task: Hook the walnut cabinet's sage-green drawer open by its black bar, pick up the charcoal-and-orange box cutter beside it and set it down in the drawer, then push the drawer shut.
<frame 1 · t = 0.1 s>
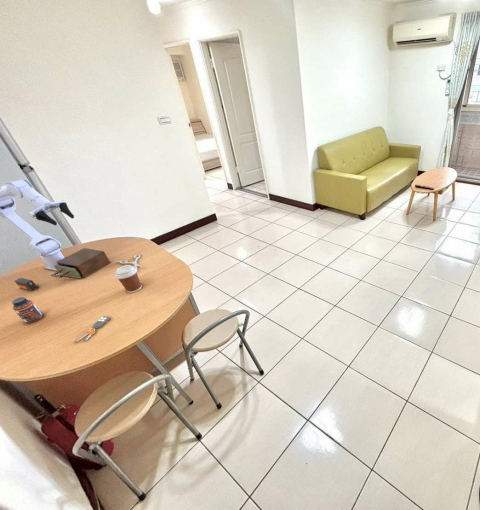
hand: (64, 220, 131), 32 cm above the table, tool tilted 50°, fingers open, 7 cm apart
drawer: (74, 267, 146), point 4 cm above the table, slide at 1.0 cm
key chain: (94, 330, 115), on the table
coffee cup: (134, 288, 138), on the table
cabinet: (88, 268, 153), on the table
scissors: (134, 264, 155), on the table
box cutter: (29, 288, 138), on the table
supplement bottle: (34, 319, 121), on the table
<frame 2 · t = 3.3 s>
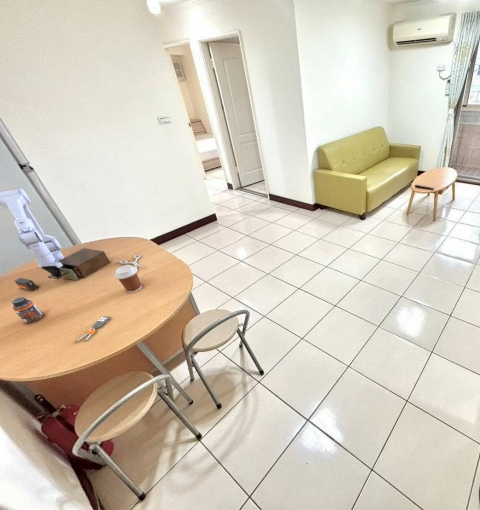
hand: (58, 276, 140), 4 cm above the table, tool pointing down, fingers closed, pressing on drawer
drawer: (72, 268, 145), point 4 cm above the table, slide at 2.3 cm, touching gripper
everything else where it was.
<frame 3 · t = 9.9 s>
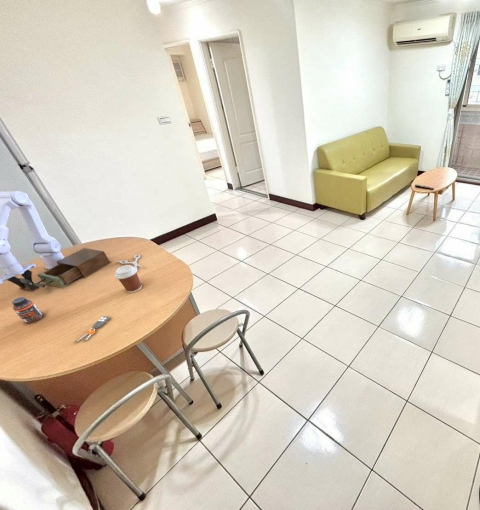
hand: (27, 286, 137), 1 cm above the table, tool pointing down, fingers closed on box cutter, 3 cm apart
drawer: (59, 276, 140), point 4 cm above the table, slide at 8.6 cm
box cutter: (29, 288, 138), on the table, touching gripper
everything else where it was.
when the fingers open (3 cm above the table, at t = 14.7 s): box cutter stays where it is, resting on drawer.
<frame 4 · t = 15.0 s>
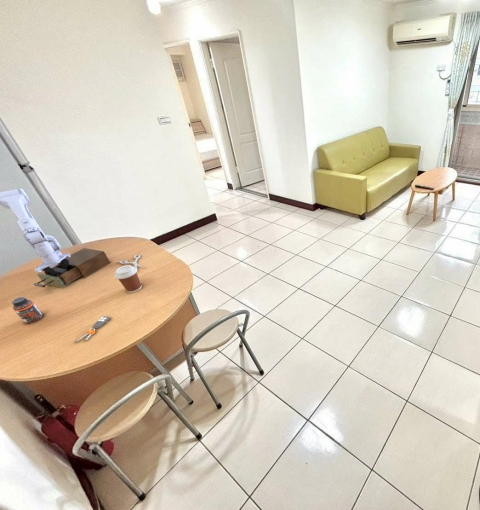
hand: (62, 275, 141), 3 cm above the table, tool pointing down, fingers open, 5 cm apart
drawer: (59, 276, 140), point 4 cm above the table, slide at 8.6 cm, touching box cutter
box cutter: (64, 277, 142), point 2 cm above the table, touching drawer
everything else where it was.
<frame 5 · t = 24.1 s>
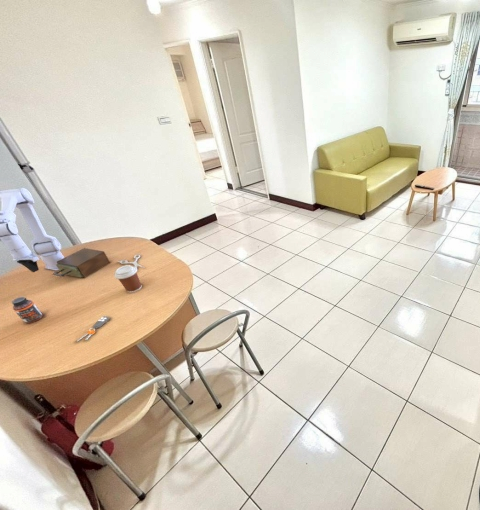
hand: (35, 270, 133), 10 cm above the table, tool pointing down, fingers closed
drawer: (76, 266, 147), point 4 cm above the table, slide at 0.0 cm, touching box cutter, cabinet
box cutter: (81, 268, 149), point 2 cm above the table, touching cabinet, drawer
everything else where it was.
at the end: drawer pulled out 8.6 cm at the most during the clip, back to where it started at the end; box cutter inside the target area in the cabinet (2.6 cm from its centre), point 2.0 cm above the cabinet's base; drawer slide at 0.0 cm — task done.
